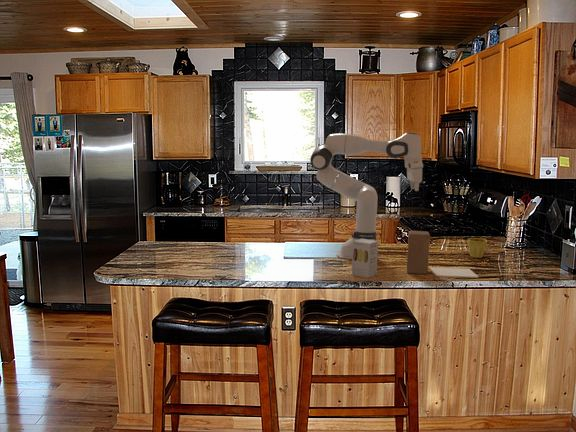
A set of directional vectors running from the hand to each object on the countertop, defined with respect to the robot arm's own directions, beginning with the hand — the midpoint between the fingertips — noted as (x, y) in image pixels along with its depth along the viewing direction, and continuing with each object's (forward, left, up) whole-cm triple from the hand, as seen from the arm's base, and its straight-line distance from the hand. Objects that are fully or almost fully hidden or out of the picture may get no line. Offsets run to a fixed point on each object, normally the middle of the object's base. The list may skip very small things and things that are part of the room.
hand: (414, 189), depth 300 cm
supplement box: (-28, -31, -39) cm, 57 cm away
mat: (+17, -22, -39) cm, 48 cm away
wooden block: (-1, -22, -39) cm, 45 cm away
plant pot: (+40, +19, -39) cm, 59 cm away
